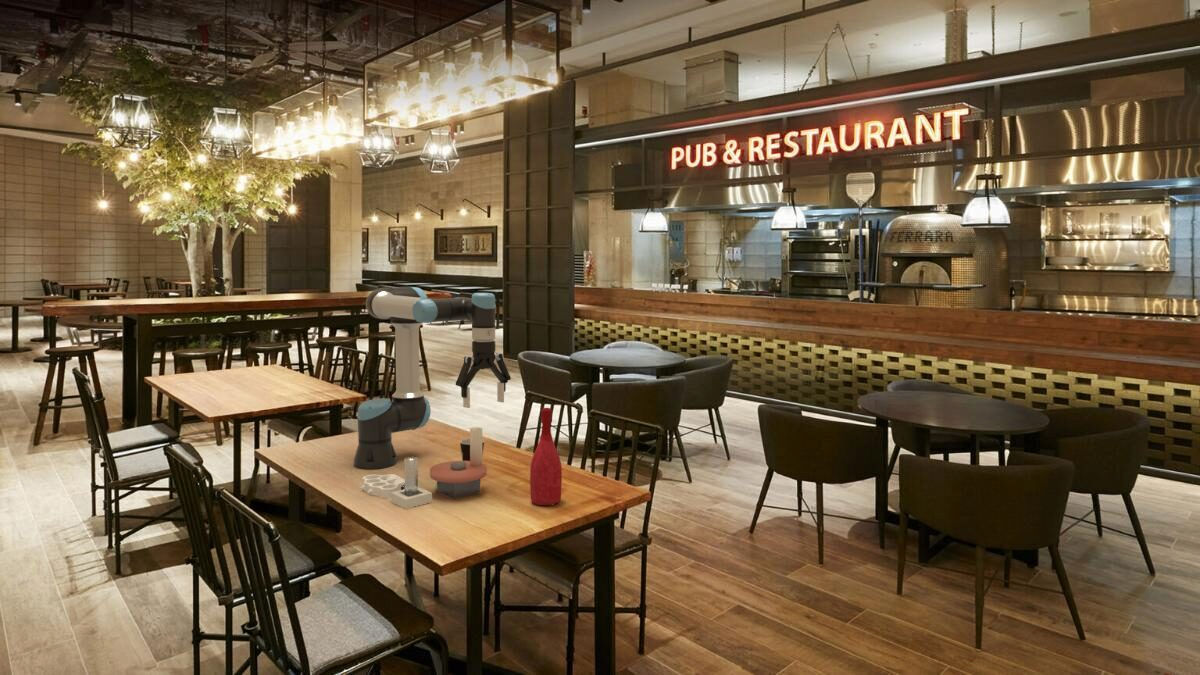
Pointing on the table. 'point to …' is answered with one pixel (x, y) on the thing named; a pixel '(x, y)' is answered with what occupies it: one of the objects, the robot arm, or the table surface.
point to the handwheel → (463, 464)
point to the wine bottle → (546, 466)
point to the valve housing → (458, 489)
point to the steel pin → (411, 476)
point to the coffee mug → (467, 449)
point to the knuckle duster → (382, 484)
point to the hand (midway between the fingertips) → (483, 404)
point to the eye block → (411, 498)
